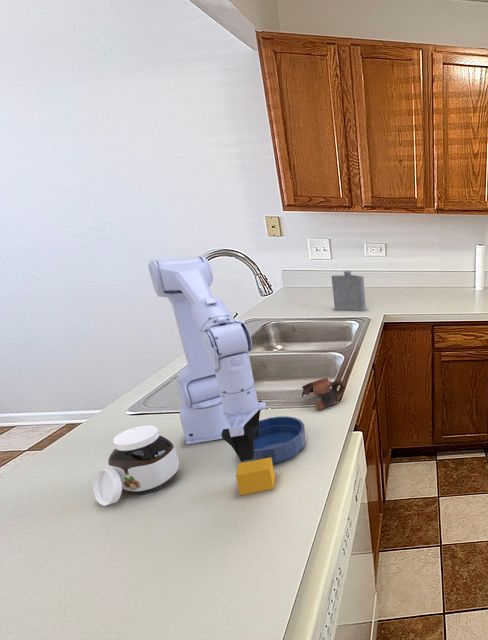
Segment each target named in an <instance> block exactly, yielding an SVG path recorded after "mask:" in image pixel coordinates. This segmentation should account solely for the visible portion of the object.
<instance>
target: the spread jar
mask: <svg viewBox="0 0 488 640" xmlns="http://www.w3.org/2000/svg"><path fill="white" fill-rule="evenodd" d="M112 443H113V446H114V449H113V450H112V452H111V453H110V454H109V457H108V460H107V464H108V467H105V468H103V469H99V470H97V472H96V473H95V474H94V476H93V479H92V492H93V495H94V498H95V500H96V501H97V502H98V504H99V505H101V506H110V505H113V504H115V503H117V502H118V501H119V500H120V499H121V495H122V491H124V492H127V493H130V494H132V495H145V494H148V493H152V492H155V491H157V490H159V489H162V488H163V487H165V486H166V485H167V484H169V482H171V480H173V479H174V477H175V476H176V475H177V473H178V471H179V469H180V460H179V457H178V454H177V450H176V448H175V445H174V444H173V443H172V441H170V440H169V439H168V438H166V437H164V436H162V435H160V432H159V429H158V427H157V426H156V425H152V424H151V425H150V424H147V425H139V426H135V427H132V428H129V429H126V430H124V431H122V432H119V433H118V434H117V435H116V436H115V437H114V438H113V440H112Z"/></svg>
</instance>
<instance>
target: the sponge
mask: <svg viewBox="0 0 488 640" xmlns="http://www.w3.org/2000/svg"><path fill="white" fill-rule="evenodd" d="M235 479H236V484H237V487H238V492H239V496H245V495H250V494H255V493H259V492H260V493H261V492H264V491H269V490H274V488H275V479H276V474H275V469H274V464H273V463H272V458H271V457H270V458H265V459H260V460H254V461H249V462H244V461H242V462H239V463H238V465H237V469H236V472H235Z"/></svg>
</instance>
